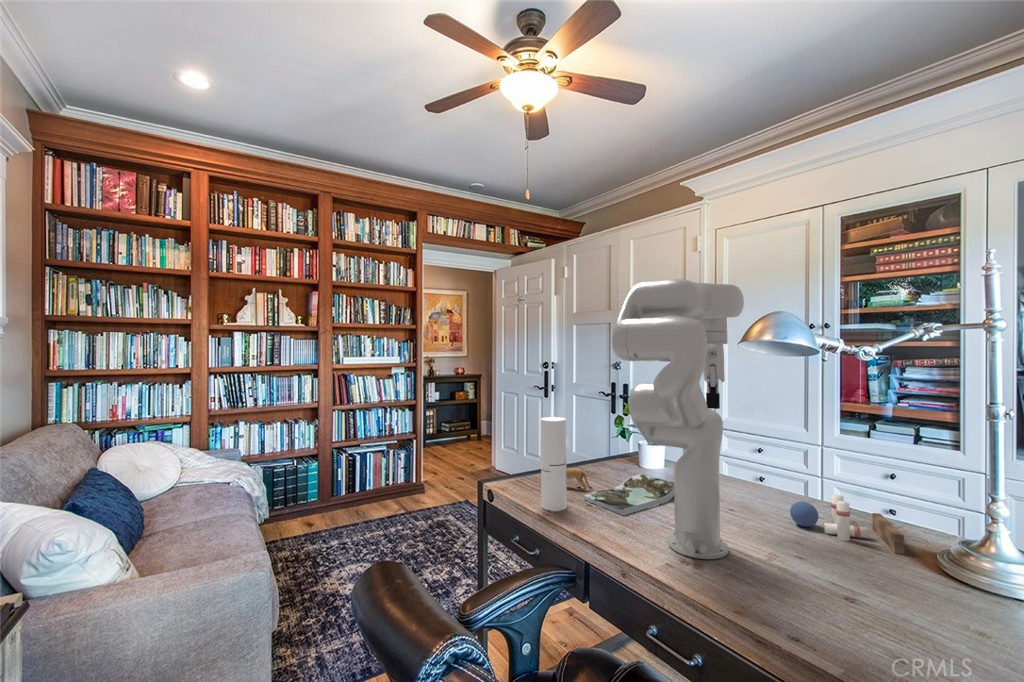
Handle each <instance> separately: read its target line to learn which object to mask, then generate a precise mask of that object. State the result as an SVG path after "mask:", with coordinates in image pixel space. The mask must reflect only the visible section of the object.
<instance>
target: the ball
mask: <svg viewBox="0 0 1024 682" xmlns="http://www.w3.org/2000/svg"><path fill="white" fill-rule="evenodd" d="M789 512H790V513H789V515H790V517H791V519H792V520H793V521H794V522H795V523H796V524H797V525H799V526H800V527H804V528H808V527H809V528H810V527H813V526H815V525H816V524H817V522H818V521H819V512H818V510H817V508H816V507H815V506H814V505H812V504H811V503H810V502H808V501H803V500H800V501H796V502H794V503H793V504H792V505H791V507H790V510H789Z"/></svg>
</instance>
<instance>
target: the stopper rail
mask: <svg viewBox="0 0 1024 682" xmlns="http://www.w3.org/2000/svg"><path fill="white" fill-rule="evenodd" d="M872 530H873V531H874V532H875V533H876V534H877V535H878V536H879V538H880V539H882V541H883V542H884V543H885V544H886V545H887V546H888V547H889V548H890V550H892V551H893V553H894V554H898V555H905V535H904V534H903V533H902V532H901V531H900V530H899V529H897V528H896V527H895V526H894V525H893V524H892V523H891V522H890V521H889V520H888V519H887V518H886V517H884V515H882V513H878V512H877V513H876V512H872Z"/></svg>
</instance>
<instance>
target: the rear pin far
mask: <svg viewBox="0 0 1024 682" xmlns="http://www.w3.org/2000/svg"><path fill="white" fill-rule="evenodd" d="M830 500H831V501H830V507H831V523H832V524H837V514H836V509H837V501H844V496H843V495H841V494H833V493H832V494H831V499H830Z"/></svg>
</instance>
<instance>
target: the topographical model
mask: <svg viewBox="0 0 1024 682" xmlns="http://www.w3.org/2000/svg"><path fill="white" fill-rule="evenodd" d="M673 497H674V481H669V480H666V479H661V478H657V477H653V476H650V475H646V474H644V473H639V474H635V475H631V476H630V477H628V478H626V479H625V480H624V481H623V482H622V483H621V484H619V485H617V486H615V487H611V488H605V489H601V490H597V491H594V492H590V493H587V494H584V495H583V500H584V501H585V500H587V501H586V502H588V501H590V502H592V503H595V504H597V505H599V506H598V507H600V506H602V507H604V508H603V509H605V508H607V509H609V510H608V511H610V510H611V511H610V512H612V511H614V512H613V513H615V512H617V513H619V514H618V515H620V514H621V516H623V515H624V516H627V514H628V515H631V514H634V513H633V512H635V513H638V512H637V511H639V510H642V511H644V510H643V509H646V508H649V507H652V506H654V505H657V504H661V503H663V504H665V502H666V503H667V502H670V501H671V499H673ZM590 502H589V503H590ZM592 503H591V504H592ZM595 504H594V505H595ZM597 505H596V506H597ZM661 505H662V504H661ZM602 507H601V508H602ZM652 508H653V507H652ZM607 509H606V510H607ZM649 509H650V508H649ZM646 510H647V509H646ZM639 512H640V511H639ZM617 513H616V514H617ZM630 513H631V514H630Z"/></svg>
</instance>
